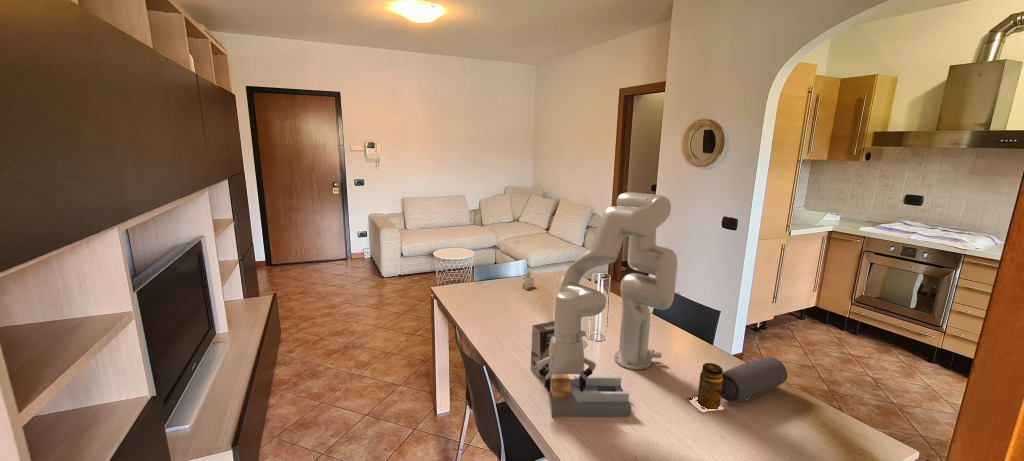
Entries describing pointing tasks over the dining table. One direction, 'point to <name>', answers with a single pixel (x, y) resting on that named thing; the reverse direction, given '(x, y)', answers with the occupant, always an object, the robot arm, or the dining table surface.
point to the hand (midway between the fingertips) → (564, 389)
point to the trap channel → (592, 399)
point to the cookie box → (541, 344)
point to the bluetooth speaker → (752, 379)
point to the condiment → (710, 386)
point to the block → (560, 385)
